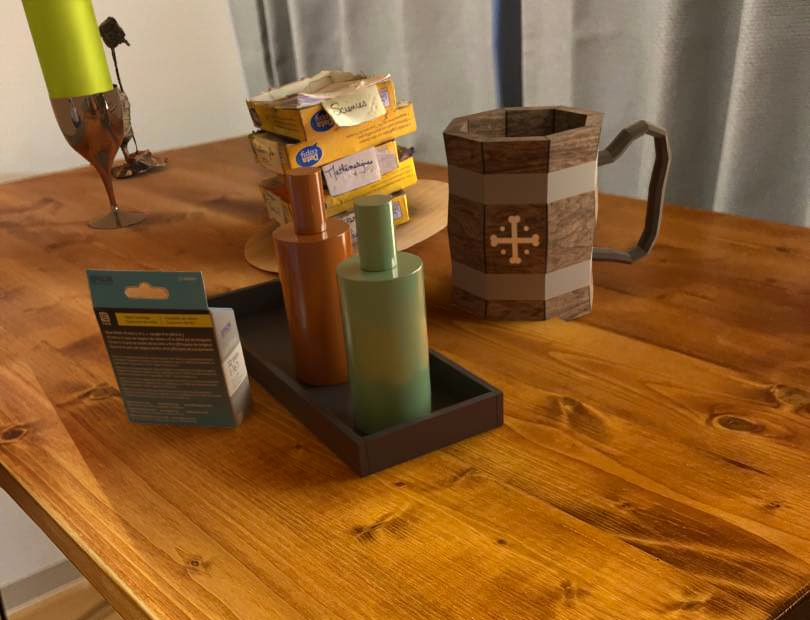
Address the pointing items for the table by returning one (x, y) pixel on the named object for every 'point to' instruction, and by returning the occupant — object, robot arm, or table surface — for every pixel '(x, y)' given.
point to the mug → (535, 209)
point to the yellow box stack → (341, 155)
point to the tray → (331, 405)
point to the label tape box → (171, 349)
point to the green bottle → (383, 323)
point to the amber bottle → (312, 280)
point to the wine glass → (97, 143)
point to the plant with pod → (126, 110)
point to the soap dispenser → (68, 47)
